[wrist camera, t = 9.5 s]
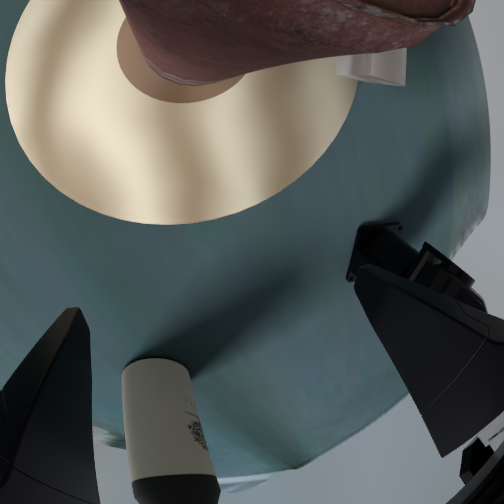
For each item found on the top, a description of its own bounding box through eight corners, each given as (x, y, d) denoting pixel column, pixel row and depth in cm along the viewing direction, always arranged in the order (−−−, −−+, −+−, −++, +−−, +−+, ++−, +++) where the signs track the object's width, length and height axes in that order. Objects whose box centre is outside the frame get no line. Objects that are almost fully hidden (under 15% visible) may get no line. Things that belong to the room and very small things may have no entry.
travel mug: (130, 395, 29) (152, 529, 14) (113, 358, 25) (130, 527, 10) (191, 389, 31) (230, 521, 17) (186, 352, 27) (232, 518, 13)
